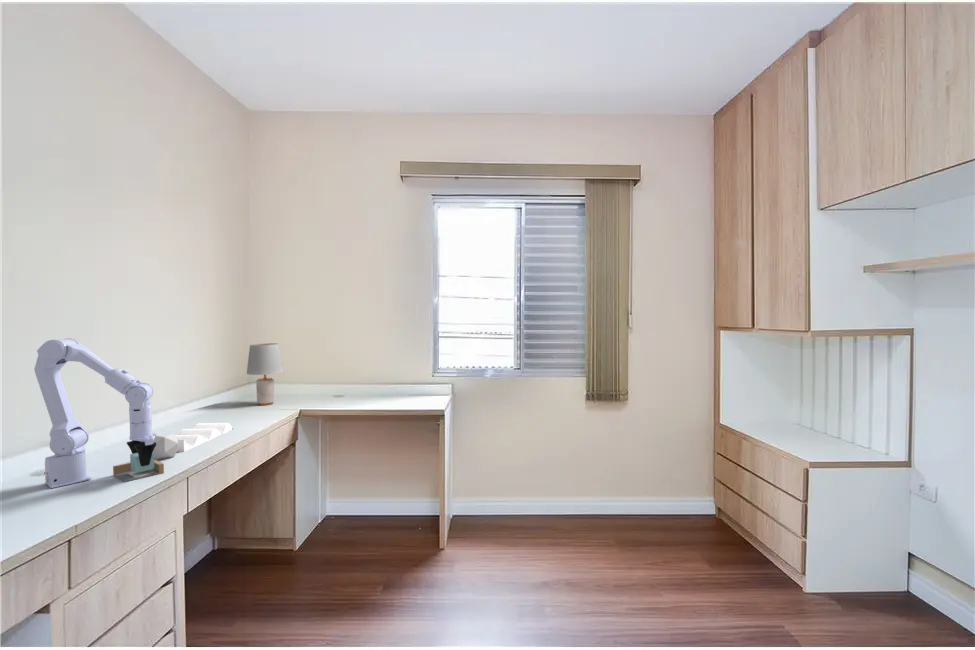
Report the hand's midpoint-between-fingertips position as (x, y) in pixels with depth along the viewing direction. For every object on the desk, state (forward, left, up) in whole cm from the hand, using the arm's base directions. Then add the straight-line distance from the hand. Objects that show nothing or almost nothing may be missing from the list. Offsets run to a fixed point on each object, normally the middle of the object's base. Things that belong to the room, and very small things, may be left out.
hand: (142, 463), depth 156 cm
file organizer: (+28, +33, -4) cm, 44 cm away
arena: (-1, +1, -3) cm, 4 cm away
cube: (0, 0, -2) cm, 2 cm away
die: (+12, +15, -4) cm, 19 cm away
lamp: (+86, +85, -3) cm, 121 cm away
